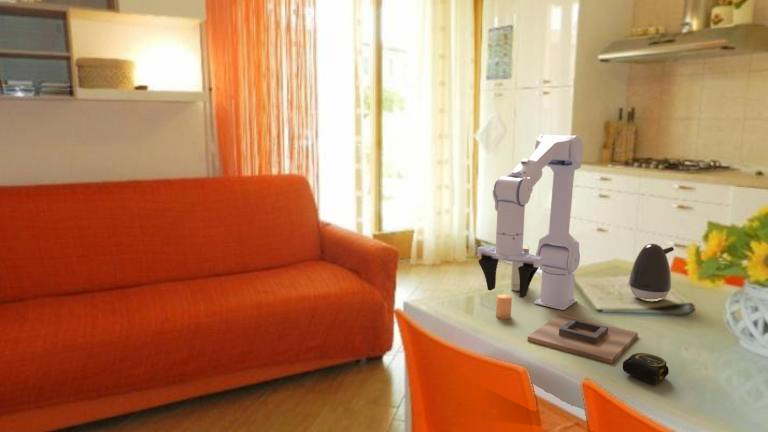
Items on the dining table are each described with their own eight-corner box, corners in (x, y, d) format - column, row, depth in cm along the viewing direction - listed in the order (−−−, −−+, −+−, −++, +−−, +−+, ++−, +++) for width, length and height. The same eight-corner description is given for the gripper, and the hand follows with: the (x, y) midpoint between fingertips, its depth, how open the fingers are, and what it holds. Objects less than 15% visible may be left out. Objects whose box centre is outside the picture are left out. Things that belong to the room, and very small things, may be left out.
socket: (559, 317, 138) (560, 307, 137) (637, 336, 126) (638, 325, 126) (527, 340, 124) (528, 329, 123) (611, 364, 113) (612, 352, 112)
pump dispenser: (677, 305, 147) (683, 248, 144) (637, 305, 147) (642, 248, 144) (659, 292, 157) (664, 239, 154) (621, 292, 157) (626, 239, 154)
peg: (500, 312, 141) (501, 293, 140) (513, 316, 139) (514, 296, 138) (493, 316, 138) (494, 297, 137) (506, 320, 136) (507, 300, 135)
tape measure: (619, 375, 108) (621, 357, 108) (640, 366, 112) (641, 348, 111) (653, 390, 103) (655, 370, 102) (673, 380, 107) (675, 361, 106)
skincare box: (527, 292, 157) (529, 249, 154) (511, 291, 157) (513, 248, 155) (526, 285, 163) (528, 243, 161) (510, 284, 164) (512, 243, 161)
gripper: (471, 230, 123) (468, 290, 126) (533, 240, 114) (529, 304, 117) (486, 225, 129) (484, 283, 131) (547, 235, 120) (543, 296, 122)
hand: (506, 292), depth 124 cm, fingers open, 7 cm apart
